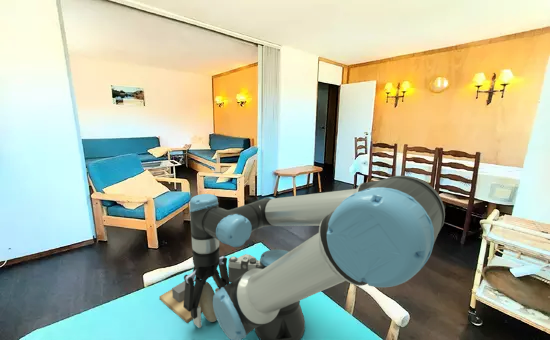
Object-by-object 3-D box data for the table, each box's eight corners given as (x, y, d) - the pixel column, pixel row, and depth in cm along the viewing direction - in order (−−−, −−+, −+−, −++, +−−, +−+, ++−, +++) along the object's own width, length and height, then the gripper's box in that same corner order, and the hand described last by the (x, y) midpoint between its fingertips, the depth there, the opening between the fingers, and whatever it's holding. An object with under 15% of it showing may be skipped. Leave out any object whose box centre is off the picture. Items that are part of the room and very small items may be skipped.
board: (213, 303, 80) (213, 300, 80) (187, 323, 72) (186, 319, 72) (185, 284, 90) (185, 281, 89) (159, 299, 82) (159, 296, 81)
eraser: (192, 294, 83) (192, 285, 82) (179, 302, 79) (178, 293, 78) (185, 289, 85) (185, 280, 84) (172, 297, 81) (172, 288, 80)
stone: (214, 328, 70) (212, 292, 68) (194, 325, 72) (192, 289, 69) (222, 313, 76) (221, 279, 74) (204, 310, 77) (202, 277, 75)
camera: (272, 271, 98) (272, 249, 96) (267, 288, 88) (267, 263, 86) (235, 267, 100) (235, 245, 99) (226, 282, 91) (226, 258, 89)
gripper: (224, 231, 79) (226, 292, 84) (164, 258, 63) (171, 332, 68) (240, 238, 75) (241, 302, 79) (181, 269, 59) (186, 347, 63)
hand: (209, 315), depth 74 cm, fingers open, 8 cm apart
